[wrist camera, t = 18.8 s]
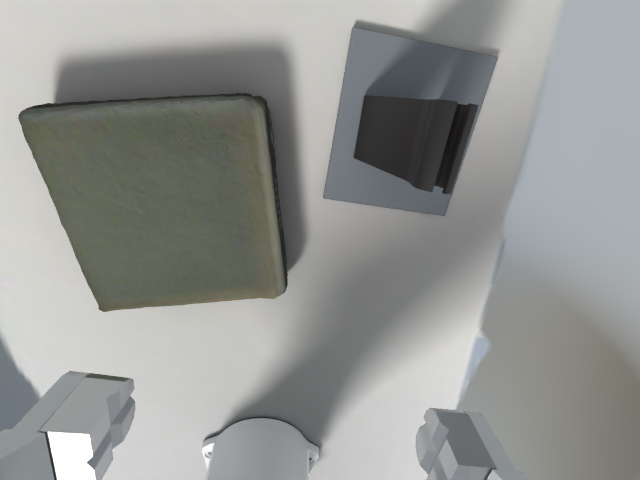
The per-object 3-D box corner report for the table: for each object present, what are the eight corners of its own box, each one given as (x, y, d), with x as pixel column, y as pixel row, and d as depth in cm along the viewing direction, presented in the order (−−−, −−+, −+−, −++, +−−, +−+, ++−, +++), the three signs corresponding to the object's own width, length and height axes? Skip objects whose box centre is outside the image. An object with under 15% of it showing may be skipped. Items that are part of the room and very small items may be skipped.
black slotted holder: (452, 108, 31) (531, 112, 20) (435, 168, 34) (497, 201, 23) (363, 94, 30) (396, 90, 20) (352, 157, 33) (376, 185, 22)
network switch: (27, 113, 31) (-22, 115, 26) (260, 62, 30) (252, 55, 25) (130, 306, 40) (108, 332, 36) (310, 272, 39) (311, 294, 35)
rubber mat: (442, 214, 36) (444, 215, 36) (323, 196, 35) (323, 198, 34) (494, 57, 30) (498, 56, 30) (352, 28, 29) (352, 27, 28)
